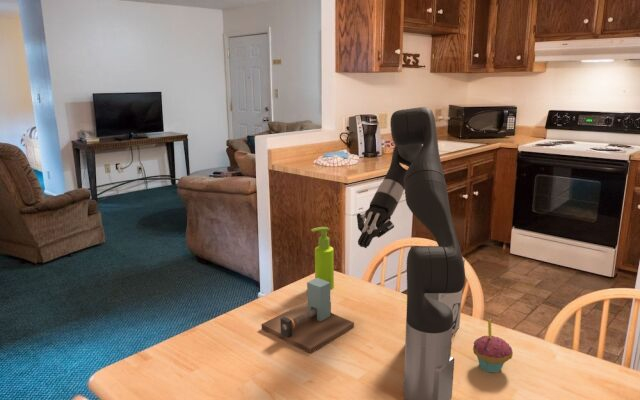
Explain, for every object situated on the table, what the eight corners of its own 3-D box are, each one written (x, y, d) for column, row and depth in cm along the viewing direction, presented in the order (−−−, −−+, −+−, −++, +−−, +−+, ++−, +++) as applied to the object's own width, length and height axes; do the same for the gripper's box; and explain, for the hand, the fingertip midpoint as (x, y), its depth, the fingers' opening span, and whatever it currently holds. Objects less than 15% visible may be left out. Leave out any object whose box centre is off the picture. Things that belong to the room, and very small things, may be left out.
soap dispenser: (310, 285, 157) (308, 226, 152) (330, 282, 159) (329, 223, 154) (315, 292, 151) (314, 231, 146) (336, 289, 153) (336, 229, 148)
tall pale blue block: (330, 316, 133) (330, 282, 131) (320, 321, 130) (320, 287, 128) (317, 310, 136) (317, 277, 134) (307, 315, 133) (307, 282, 131)
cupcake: (464, 360, 115) (467, 315, 112) (493, 353, 118) (497, 308, 115) (488, 381, 107) (492, 333, 104) (518, 373, 110) (524, 325, 107)
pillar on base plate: (353, 327, 131) (354, 307, 129) (310, 354, 119) (309, 332, 117) (305, 306, 142) (305, 288, 141) (261, 329, 130) (260, 309, 129)
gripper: (364, 187, 150) (338, 234, 145) (401, 194, 141) (375, 245, 136) (374, 200, 155) (349, 247, 150) (410, 208, 147) (385, 257, 141)
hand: (362, 246), depth 143 cm, fingers closed
